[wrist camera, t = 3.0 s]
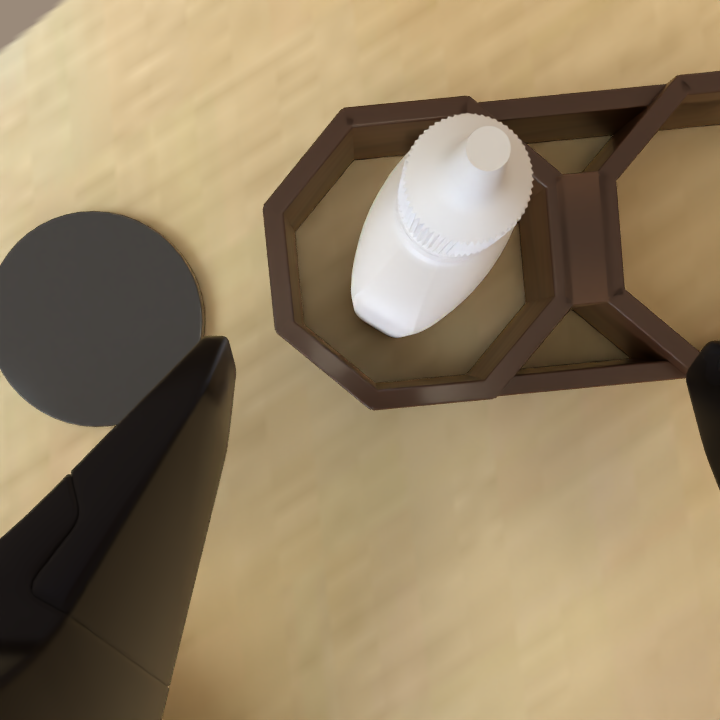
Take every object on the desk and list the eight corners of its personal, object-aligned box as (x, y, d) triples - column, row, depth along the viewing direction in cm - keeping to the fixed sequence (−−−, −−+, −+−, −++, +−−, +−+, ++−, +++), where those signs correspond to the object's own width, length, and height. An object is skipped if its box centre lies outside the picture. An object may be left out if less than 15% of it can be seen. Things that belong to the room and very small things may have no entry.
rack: (830, 356, 20) (914, 359, 17) (295, 408, 20) (283, 419, 17) (813, 97, 20) (895, 52, 16) (269, 150, 20) (252, 115, 17)
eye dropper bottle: (321, 254, 20) (260, 114, 8) (445, 184, 20) (579, -70, 8) (375, 350, 20) (399, 360, 8) (499, 281, 20) (715, 182, 8)
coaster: (139, 464, 20) (134, 466, 20) (-45, 357, 20) (-53, 357, 19) (244, 282, 20) (241, 281, 19) (59, 173, 20) (53, 170, 19)
